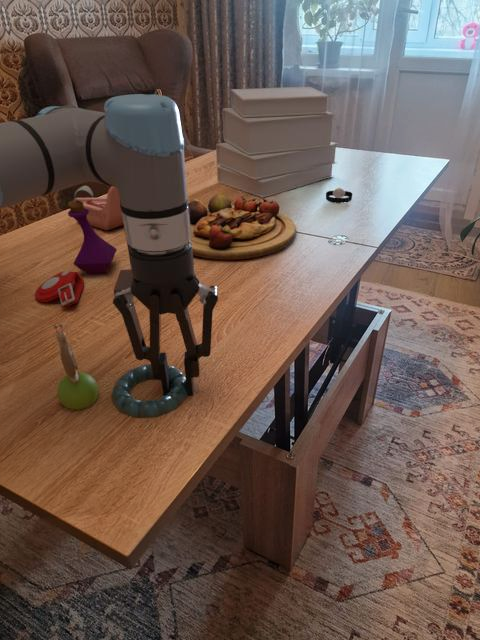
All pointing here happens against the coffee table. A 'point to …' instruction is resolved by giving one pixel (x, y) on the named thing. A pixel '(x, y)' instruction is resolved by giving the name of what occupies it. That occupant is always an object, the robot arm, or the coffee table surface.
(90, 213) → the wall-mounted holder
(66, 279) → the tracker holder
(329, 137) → the book stack
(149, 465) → the coffee table surface
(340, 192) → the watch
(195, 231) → the wooden plate
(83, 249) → the perfume bottle
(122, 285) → the rack
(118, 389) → the ring
